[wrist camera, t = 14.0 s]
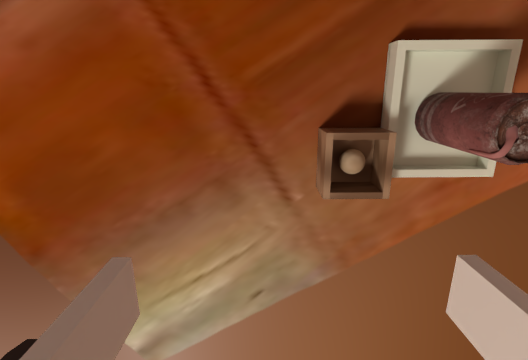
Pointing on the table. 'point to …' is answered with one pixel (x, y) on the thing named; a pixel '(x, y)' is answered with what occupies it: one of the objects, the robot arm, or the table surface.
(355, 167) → the cork ball
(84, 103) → the table surface
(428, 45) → the tray
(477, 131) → the can
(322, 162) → the square wooden box
